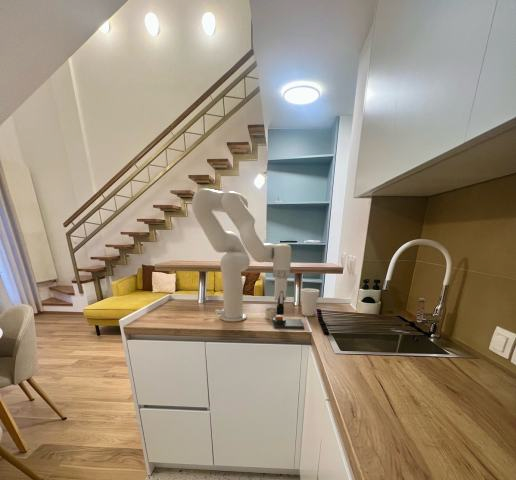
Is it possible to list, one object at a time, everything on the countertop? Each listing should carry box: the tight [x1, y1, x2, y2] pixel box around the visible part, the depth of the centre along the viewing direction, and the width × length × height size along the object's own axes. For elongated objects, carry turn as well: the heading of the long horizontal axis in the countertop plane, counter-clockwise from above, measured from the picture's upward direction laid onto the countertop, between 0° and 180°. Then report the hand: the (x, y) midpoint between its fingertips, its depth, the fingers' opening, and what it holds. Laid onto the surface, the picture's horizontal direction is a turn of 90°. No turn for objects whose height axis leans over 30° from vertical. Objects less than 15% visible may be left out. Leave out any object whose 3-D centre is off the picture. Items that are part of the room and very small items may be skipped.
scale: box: [272, 317, 305, 330], centre depth 131 cm, size 14×11×3 cm
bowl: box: [265, 307, 277, 321], centre depth 141 cm, size 7×7×5 cm
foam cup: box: [300, 287, 320, 317], centre depth 147 cm, size 10×9×13 cm
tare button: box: [276, 315, 284, 320], centre depth 131 cm, size 3×3×2 cm
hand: (280, 314), depth 130 cm, fingers closed
